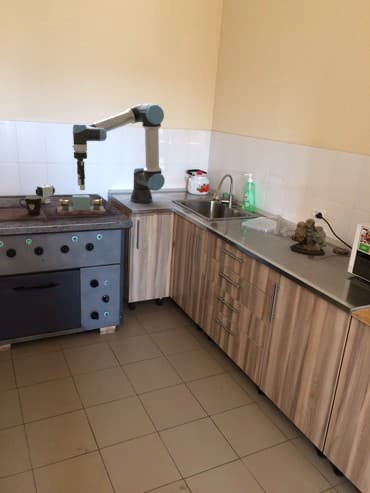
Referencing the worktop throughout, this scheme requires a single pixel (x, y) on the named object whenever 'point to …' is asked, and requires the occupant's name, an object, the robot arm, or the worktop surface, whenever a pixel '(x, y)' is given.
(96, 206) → the pipe rig
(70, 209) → the base board
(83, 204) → the coupling block
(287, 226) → the toy dinosaur
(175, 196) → the worktop surface
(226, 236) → the worktop surface
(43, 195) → the pneumatic valve
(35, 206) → the coffee mug
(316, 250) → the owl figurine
